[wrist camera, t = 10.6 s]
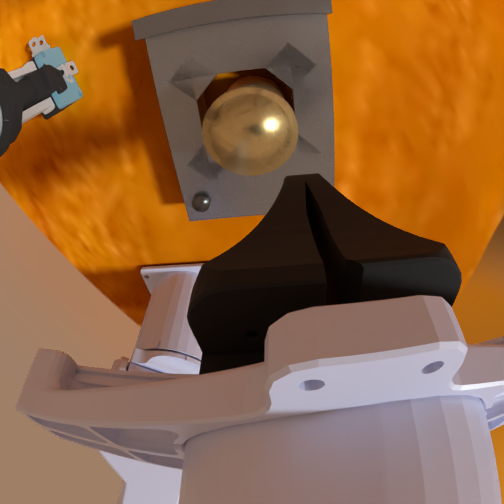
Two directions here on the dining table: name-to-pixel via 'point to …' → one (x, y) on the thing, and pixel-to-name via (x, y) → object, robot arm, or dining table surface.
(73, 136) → the dining table surface
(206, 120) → the brass door knob
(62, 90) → the push button
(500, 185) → the dining table surface
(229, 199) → the jig
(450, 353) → the robot arm
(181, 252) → the dining table surface
